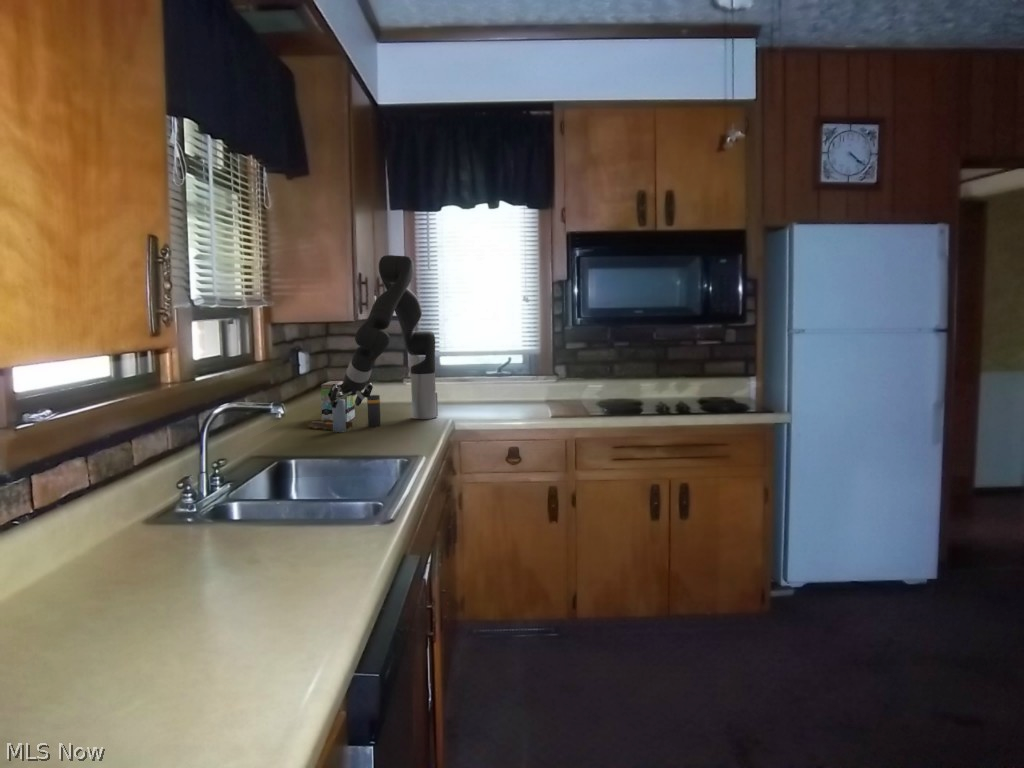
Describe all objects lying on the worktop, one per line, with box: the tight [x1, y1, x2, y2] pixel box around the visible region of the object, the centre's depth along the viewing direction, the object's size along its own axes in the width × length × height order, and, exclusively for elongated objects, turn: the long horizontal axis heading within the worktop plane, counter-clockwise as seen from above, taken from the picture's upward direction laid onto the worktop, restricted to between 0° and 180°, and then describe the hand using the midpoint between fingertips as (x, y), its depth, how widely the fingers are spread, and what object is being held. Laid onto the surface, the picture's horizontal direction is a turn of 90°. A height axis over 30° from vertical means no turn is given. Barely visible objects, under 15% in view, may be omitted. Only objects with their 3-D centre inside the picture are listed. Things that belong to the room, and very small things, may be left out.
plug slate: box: [332, 399, 347, 433], centre depth 281 cm, size 4×4×11 cm
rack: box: [308, 419, 353, 430], centre depth 291 cm, size 8×14×2 cm, turn 55°
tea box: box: [320, 380, 356, 422], centre depth 309 cm, size 15×10×15 cm
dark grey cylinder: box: [366, 394, 382, 428], centre depth 293 cm, size 5×5×11 cm
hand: (344, 405), depth 277 cm, fingers open, 8 cm apart
